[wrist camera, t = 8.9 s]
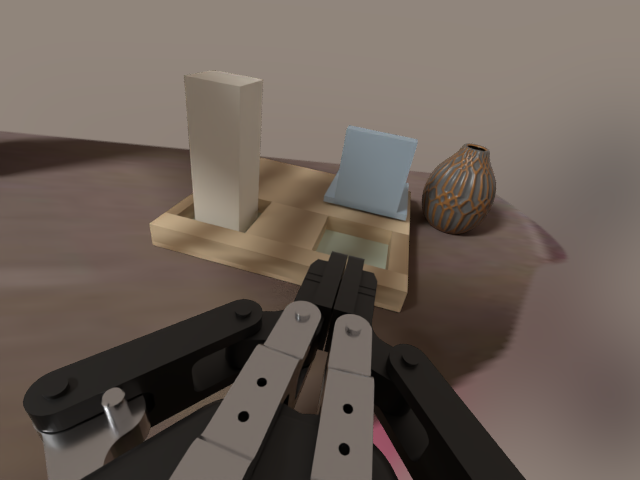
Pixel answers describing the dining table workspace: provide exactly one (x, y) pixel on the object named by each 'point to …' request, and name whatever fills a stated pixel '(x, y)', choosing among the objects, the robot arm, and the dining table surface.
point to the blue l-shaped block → (373, 173)
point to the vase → (460, 191)
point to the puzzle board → (296, 233)
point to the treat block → (224, 146)
